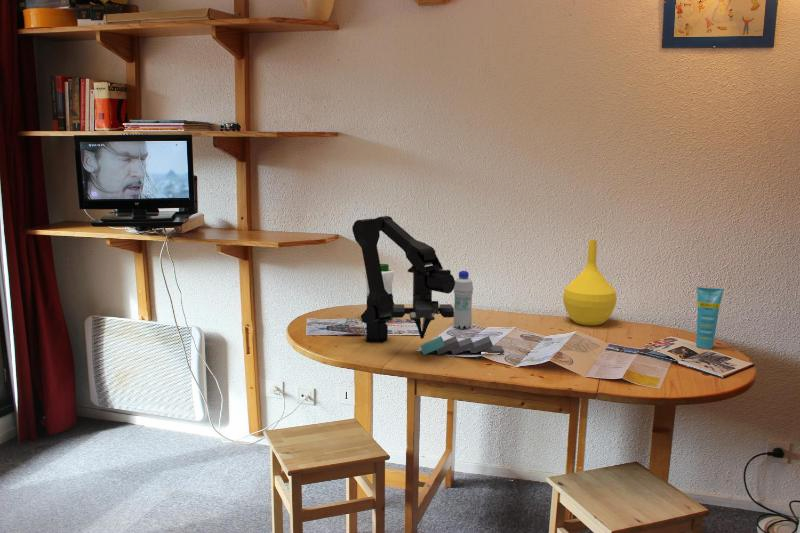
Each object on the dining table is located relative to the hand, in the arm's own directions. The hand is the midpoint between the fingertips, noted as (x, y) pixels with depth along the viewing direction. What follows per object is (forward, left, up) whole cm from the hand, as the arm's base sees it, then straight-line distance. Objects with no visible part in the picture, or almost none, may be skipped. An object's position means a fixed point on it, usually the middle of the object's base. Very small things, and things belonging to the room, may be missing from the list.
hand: (421, 338), depth 206 cm
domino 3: (+9, 0, -4) cm, 10 cm away
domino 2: (+5, 0, -4) cm, 6 cm away
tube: (+90, +4, -5) cm, 90 cm away
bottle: (+16, +28, -5) cm, 33 cm away
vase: (+62, +34, -5) cm, 71 cm away
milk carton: (-13, +38, -5) cm, 40 cm away
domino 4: (+15, 0, -4) cm, 15 cm away
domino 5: (+18, 0, -4) cm, 18 cm away
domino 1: (0, 0, -4) cm, 4 cm away
